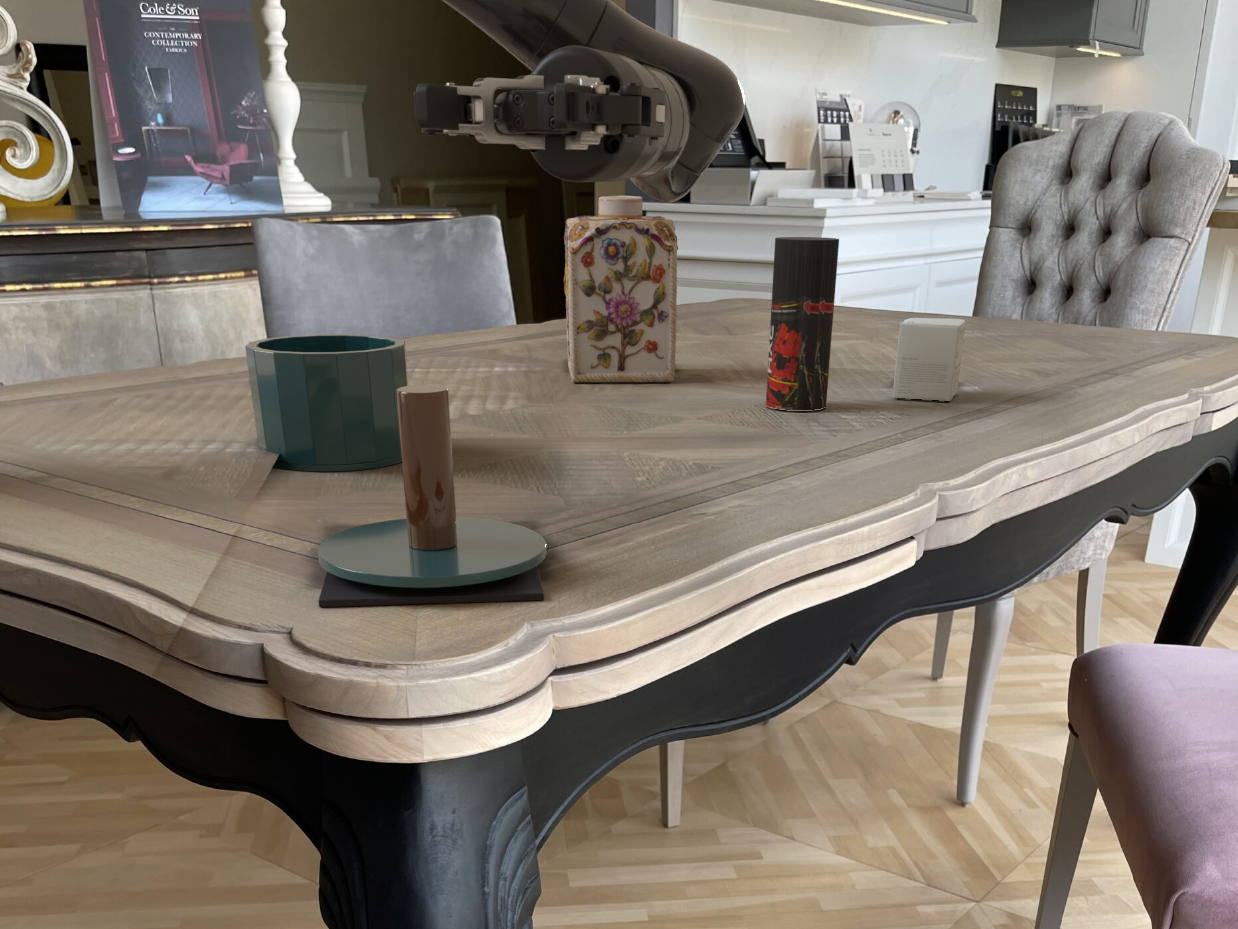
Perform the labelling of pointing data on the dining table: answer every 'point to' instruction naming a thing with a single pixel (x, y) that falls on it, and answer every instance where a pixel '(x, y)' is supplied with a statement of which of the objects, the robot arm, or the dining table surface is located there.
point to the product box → (928, 358)
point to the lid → (430, 518)
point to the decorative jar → (621, 294)
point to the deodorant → (801, 322)
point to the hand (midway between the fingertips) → (490, 106)
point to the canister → (328, 400)
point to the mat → (430, 592)
